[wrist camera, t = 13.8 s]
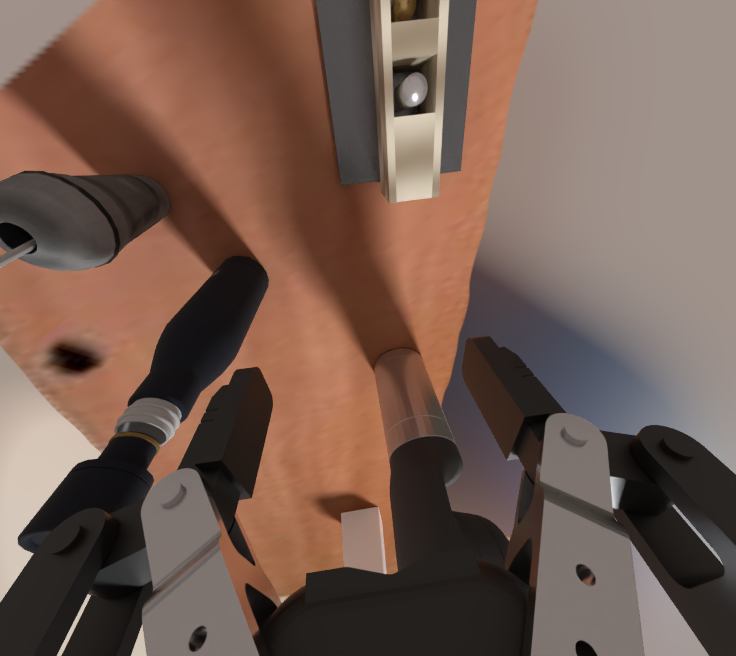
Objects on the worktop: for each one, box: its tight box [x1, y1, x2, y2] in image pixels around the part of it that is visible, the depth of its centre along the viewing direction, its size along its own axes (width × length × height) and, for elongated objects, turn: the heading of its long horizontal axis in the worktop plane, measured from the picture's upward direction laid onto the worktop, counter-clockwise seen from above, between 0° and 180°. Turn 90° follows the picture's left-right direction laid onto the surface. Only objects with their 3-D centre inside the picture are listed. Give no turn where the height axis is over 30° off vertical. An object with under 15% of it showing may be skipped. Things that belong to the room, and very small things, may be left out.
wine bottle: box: [18, 256, 269, 553], centre depth 25 cm, size 6×6×30 cm
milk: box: [341, 507, 387, 574], centre depth 77 cm, size 12×12×26 cm
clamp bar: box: [369, 0, 449, 203], centre depth 24 cm, size 17×5×6 cm, turn 6°
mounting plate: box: [316, 0, 476, 185], centre depth 25 cm, size 14×14×8 cm
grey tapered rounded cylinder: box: [0, 171, 170, 271], centre depth 22 cm, size 7×7×20 cm
